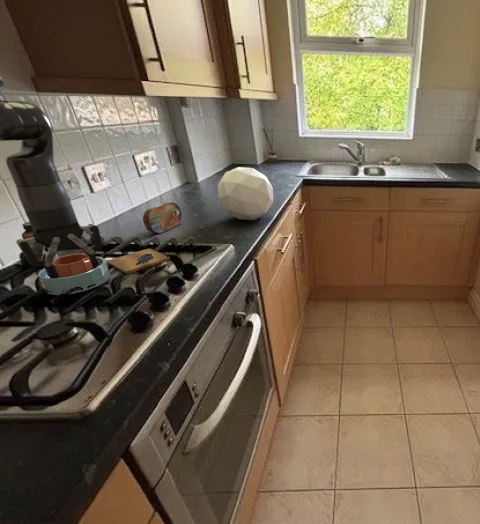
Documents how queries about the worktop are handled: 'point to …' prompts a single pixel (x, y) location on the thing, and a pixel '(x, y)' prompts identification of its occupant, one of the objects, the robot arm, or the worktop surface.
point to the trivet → (129, 261)
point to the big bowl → (76, 279)
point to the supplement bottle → (37, 246)
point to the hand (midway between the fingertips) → (75, 273)
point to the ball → (245, 193)
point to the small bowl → (72, 265)
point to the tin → (162, 217)
